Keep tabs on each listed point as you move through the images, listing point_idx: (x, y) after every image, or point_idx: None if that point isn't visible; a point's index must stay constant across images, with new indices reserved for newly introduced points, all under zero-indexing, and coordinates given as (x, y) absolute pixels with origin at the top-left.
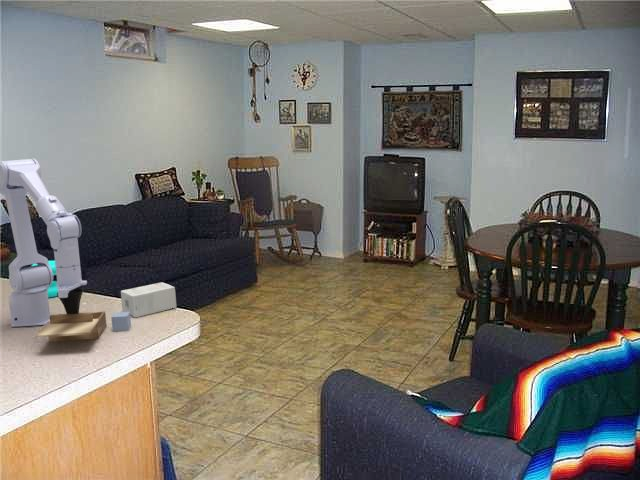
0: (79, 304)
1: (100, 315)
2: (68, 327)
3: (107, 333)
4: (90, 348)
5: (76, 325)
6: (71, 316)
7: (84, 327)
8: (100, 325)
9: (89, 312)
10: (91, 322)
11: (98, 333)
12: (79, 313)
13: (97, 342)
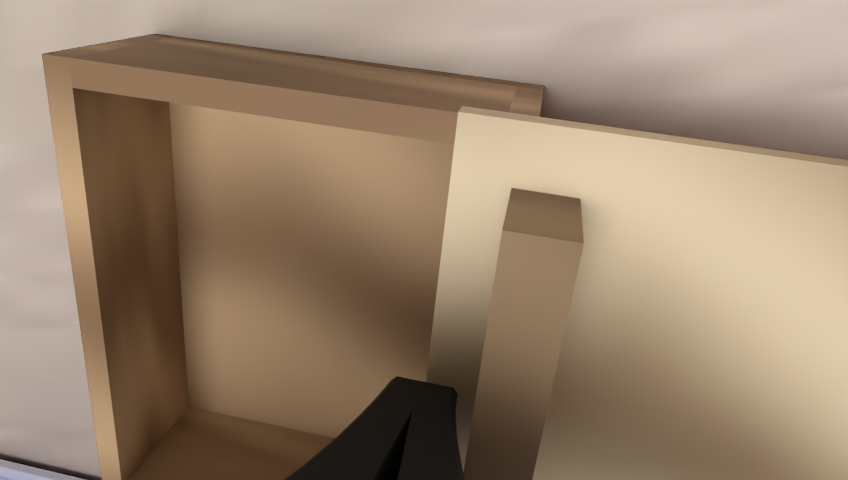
0: (331, 458)
1: (203, 103)
2: (714, 454)
3: (395, 3)
4: (839, 149)
5: (668, 375)
6: (531, 475)
7: (823, 284)
8: (386, 84)
9: (76, 236)
10: (612, 203)
11: (526, 93)
12: (487, 399)
13: (665, 89)
